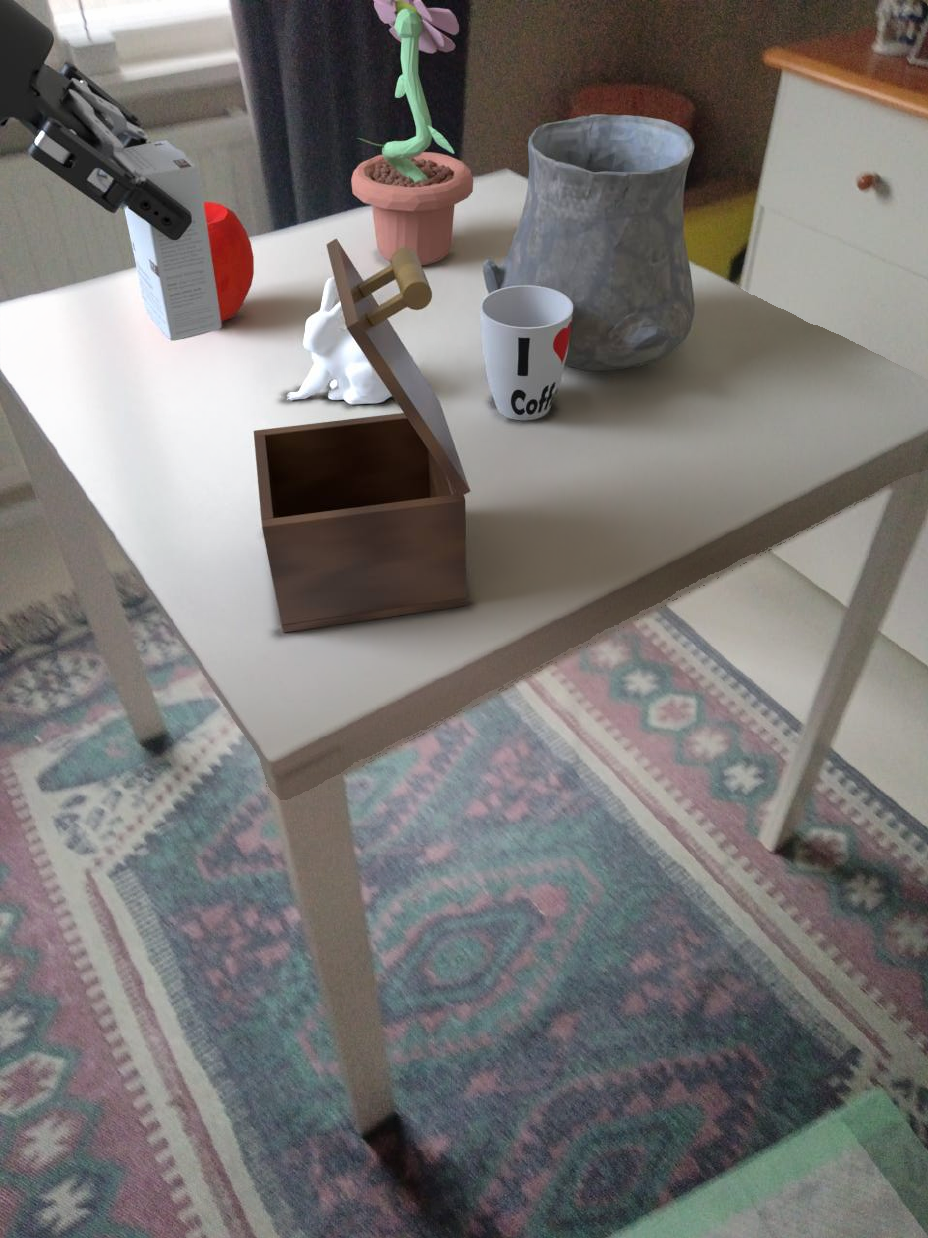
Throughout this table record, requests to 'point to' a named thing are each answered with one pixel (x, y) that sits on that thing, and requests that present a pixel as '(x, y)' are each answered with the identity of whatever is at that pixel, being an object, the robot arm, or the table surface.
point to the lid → (397, 347)
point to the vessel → (607, 236)
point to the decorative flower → (414, 149)
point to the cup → (525, 347)
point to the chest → (358, 522)
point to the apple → (229, 258)
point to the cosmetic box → (174, 248)
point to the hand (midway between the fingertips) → (184, 208)
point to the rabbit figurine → (337, 358)
